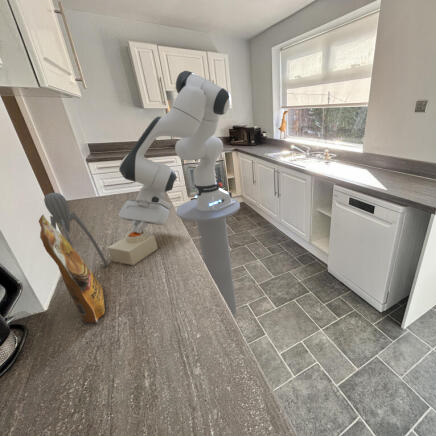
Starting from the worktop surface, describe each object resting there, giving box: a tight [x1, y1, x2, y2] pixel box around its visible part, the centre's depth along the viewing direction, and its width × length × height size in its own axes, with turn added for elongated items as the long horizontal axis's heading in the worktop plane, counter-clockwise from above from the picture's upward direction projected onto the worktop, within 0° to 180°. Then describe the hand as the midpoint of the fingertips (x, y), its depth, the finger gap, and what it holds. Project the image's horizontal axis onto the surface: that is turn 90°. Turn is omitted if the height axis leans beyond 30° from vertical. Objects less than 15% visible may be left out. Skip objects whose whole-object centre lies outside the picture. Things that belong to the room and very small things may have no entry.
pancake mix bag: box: [38, 214, 106, 324], centre depth 64 cm, size 7×19×28 cm, turn 38°
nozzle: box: [129, 232, 143, 237], centre depth 94 cm, size 4×4×2 cm
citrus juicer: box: [43, 192, 108, 268], centre depth 75 cm, size 11×10×30 cm
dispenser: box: [106, 229, 158, 266], centre depth 93 cm, size 12×10×8 cm
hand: (135, 232), depth 93 cm, fingers closed, pressing on nozzle
